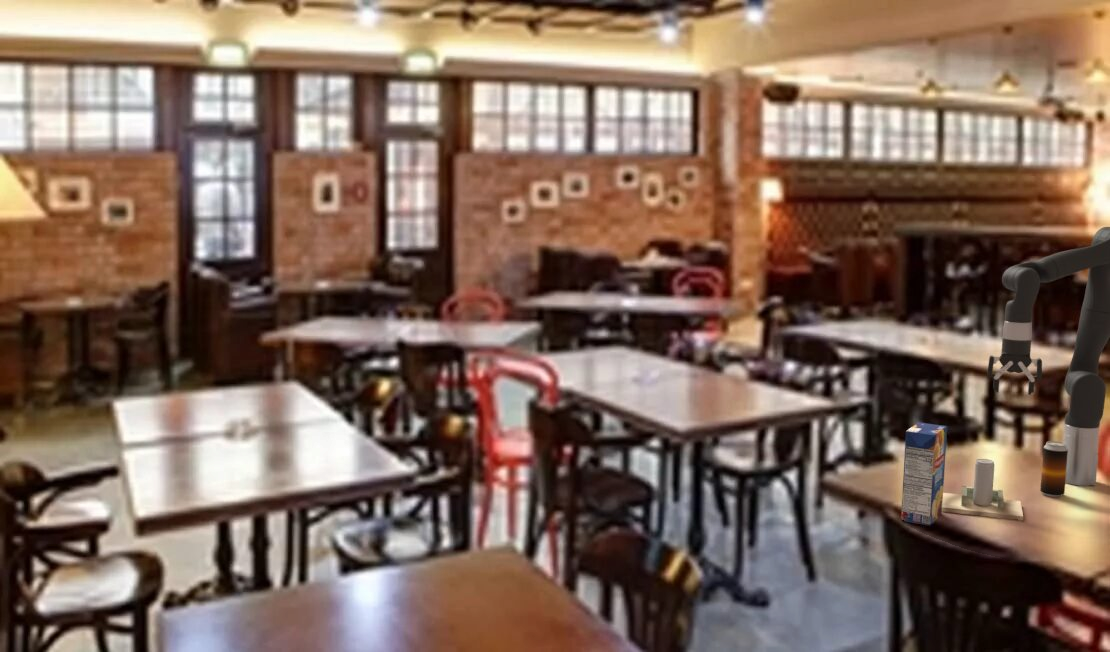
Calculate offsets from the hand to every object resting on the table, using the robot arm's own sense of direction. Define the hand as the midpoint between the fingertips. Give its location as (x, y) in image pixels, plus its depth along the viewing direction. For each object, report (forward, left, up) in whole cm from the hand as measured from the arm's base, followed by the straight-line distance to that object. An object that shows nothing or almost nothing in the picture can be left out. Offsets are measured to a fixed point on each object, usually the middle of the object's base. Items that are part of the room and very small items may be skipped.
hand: (1013, 393), depth 303 cm
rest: (+7, +23, -28) cm, 37 cm away
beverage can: (-12, +2, -28) cm, 31 cm away
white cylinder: (+7, +23, -27) cm, 36 cm away
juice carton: (+22, +37, -28) cm, 52 cm away
